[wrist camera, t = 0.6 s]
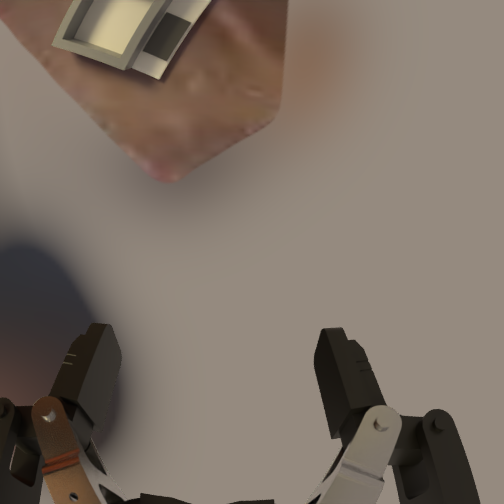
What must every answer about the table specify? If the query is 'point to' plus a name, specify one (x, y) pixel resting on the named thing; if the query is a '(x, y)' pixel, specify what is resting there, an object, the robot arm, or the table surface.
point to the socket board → (129, 31)
